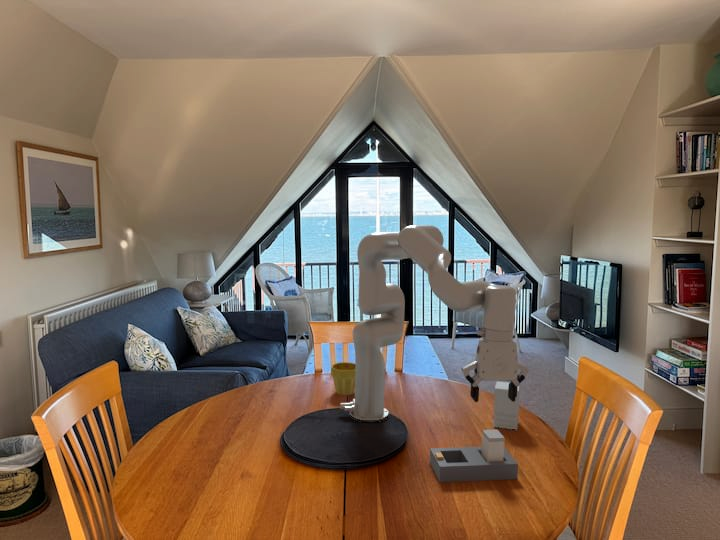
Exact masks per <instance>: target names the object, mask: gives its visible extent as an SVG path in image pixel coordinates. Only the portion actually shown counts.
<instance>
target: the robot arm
mask: <svg viewBox="0 0 720 540" xmlns="http://www.w3.org/2000/svg"><path fill="white" fill-rule="evenodd" d="M404 259H411V260H412V261H413V262H414V263H415V264H416V265H417V266H418V267H420V268H421V269H422V270H423V271H424V272H425V273H426V275H427V280H428V283H429V287H430V289H431V291H432V292H433V294H434V295H435V296H436V297H437V299H439V300H440V301H441V302H442V303H443V304H444V305H445V306H446V307H447V308H449V309H450V310H452V311H453V312H457V313H466V312H471V311H472V312H473V311H478V310H483V317H482V318H483V320H482V326H481V329H478V330H477V331H476V335H477V336H480V338H479V340H478V343H477V346H476V351H475V356H474V357H475V359H474V361H472V362H471V363H469V364H467V365H465V366H462V367H461V372H462V374H463V376H464V378H465V379H466V380H467V381H468V382H469V384H470V394H469V395H470V398H471V399H472V400H473V401H474V403H478V402H479V397H480V396H479V395H480V387H479V385H480V383H481V382H482V381H483V382H497V381H498V382H508V383H509V388H508V398H509V399H510V400H511V401H513V402H515V397H517V388H518V386H519V385H521V383H522V382H523V381H524V380H525V379H526V376H527V375H528V373H529V371H530V369H529V368H528V367H526V365H523V364H521V363H519V357H518V356H519V355H518V345H517V341H516V340H514V332H515V331H514V330H515V328H514V327H515V313H516V302H517V301H516V300H517V292H516V289H515V288H514V287H512V286H509V285H505V284H504V285H501V284H495V283H493V282H489V281H487V280H481V279H480V280H469V281H463V282H460V281H459V280H457V279H456V278H455V277H454V276H453V275H452V274H451V273H450V272H449V271H448V268H449V266H450V264H451V261H452V254H451V252H450V251H449V250H448V249H446V248H445V246H444V235H443V234H442V232H441V230H440V229H439V228H438V227H437V226H434V225H430V224H415V225H413V224H412V225H407V226H405V227H403V228H402V229H401V230H400V231H380V232H379V231H378V232H372V233H369V234H367V235H365V236H364V237H363V238H362V239H361V240H360V242H359V243H358V246H357V262H358V272H359V274H358V309H359V311H360V312H361V313H362V314H363V315H365V316H378V315H381V316H379V317H373V318H368V319H363V320H361V321H359V322H357V323H356V324H355V326H354V327H353V330H352V340H353V346H354V357H355V358H354V360H355V361H354V362H355V390H354V398H352V401H350V402H340V403H339V406H340V410H344V412H349V416H350V415H351V416H352V417H354V418H356V419H360V420H379V419H383V418H385V417H387V416H388V415H390V414H389V413H390V412H389V410H388V409H387V408H385V378H386V376H385V374H386V361H385V357H384V356H383V353H382V351H381V348H384V347H388V346H393V345H396V344H398V343H399V342H400V341H401V340H402V338H403V337H404V336H403V335H404V328H405V308H406V307H405V303H406V300H405V294H404V292H403V290H402V289H401V287H400V286H399V285H397V284H395V283H392V282H391V283H387V270H386V267H385V264H384V263H383V262H382V261H386V260H387V261H388V260H389V261H390V260H392V261H394V260H404ZM472 370H473V372H474V375H473V376H472V377H471V374H470V372H471V371H472ZM519 370H520V372H519ZM351 416H350V417H351ZM352 417H351V418H352ZM388 417H389V416H388Z"/></svg>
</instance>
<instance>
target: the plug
mask: <svg viewBox="0 0 720 540" xmlns="http://www.w3.org/2000/svg"><path fill="white" fill-rule="evenodd" d="M481 432H482V435H481V447H482V450H481V456H482V457H483V459H484V460H485V461H486V462H491V461H503V458H504V448H505V438H506V437H504V435H502V433H501V432H500V431H499V429H482V431H481Z"/></svg>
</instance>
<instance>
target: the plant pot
mask: <svg viewBox="0 0 720 540" xmlns="http://www.w3.org/2000/svg"><path fill="white" fill-rule="evenodd" d="M330 375H331V376H332V379H333V385H334V388H335V393H336V394H338V395H340V396H350V395H353V394H355V363H354V362H349V361H348V362H347V361H344V362H343V361H342V362H341V361H340V362H335V363H333V364H331V366H330Z"/></svg>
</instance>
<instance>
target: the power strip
mask: <svg viewBox="0 0 720 540" xmlns="http://www.w3.org/2000/svg"><path fill="white" fill-rule="evenodd" d="M481 450H482V446H465V447H464V446H463V447H462V446H461V447H459V446H458V447H457V446H456V447H433V448H432V447H431V448H430V449H429V464H430V466H431V468H432V470H433V472H434V474H435V476H436V478H437V480H438V482H439V483H449V482H450V483H451V482H474V481H475V482H476V481H478V482H479V481H501V480H502V481H503V480H518V475H519V474H518V473H519V463H518V462H517V461H516V459H515V457H513V455H511V453H509V451H508V450H507V448H506V447H504V458H503V461H491V462H486V461H485V460H484V459H483V457H482V456H481Z"/></svg>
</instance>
